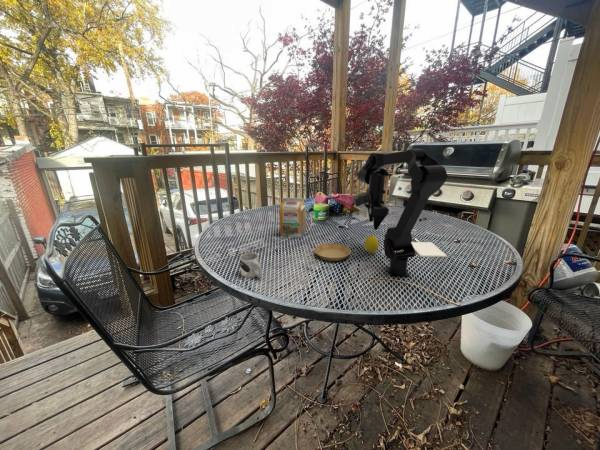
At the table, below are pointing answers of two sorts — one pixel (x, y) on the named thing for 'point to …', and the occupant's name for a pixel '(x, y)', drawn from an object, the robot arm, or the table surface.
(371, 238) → the lemon
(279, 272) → the table surface
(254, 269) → the mug
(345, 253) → the plant saucer
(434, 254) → the placemat
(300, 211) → the plastic snack jar
